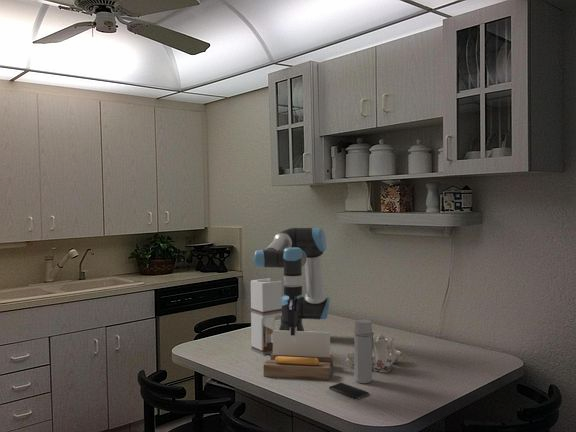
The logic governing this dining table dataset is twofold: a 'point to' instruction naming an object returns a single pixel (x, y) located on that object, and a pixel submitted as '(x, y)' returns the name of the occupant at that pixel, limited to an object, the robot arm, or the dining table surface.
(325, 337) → the duct cover
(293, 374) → the wooden tray
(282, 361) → the orange rod
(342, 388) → the phone
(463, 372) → the dining table surface
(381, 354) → the chinaware
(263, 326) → the wood-lined white cubby
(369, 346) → the water bottle
